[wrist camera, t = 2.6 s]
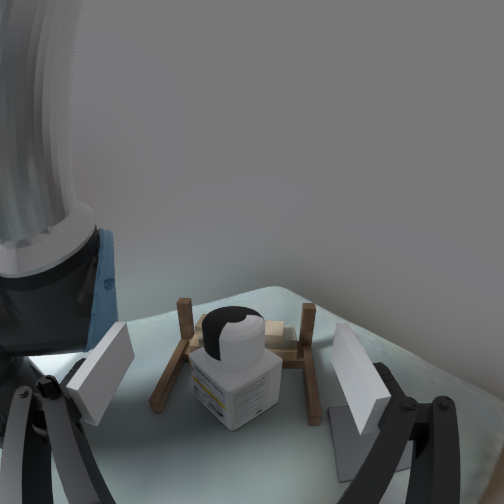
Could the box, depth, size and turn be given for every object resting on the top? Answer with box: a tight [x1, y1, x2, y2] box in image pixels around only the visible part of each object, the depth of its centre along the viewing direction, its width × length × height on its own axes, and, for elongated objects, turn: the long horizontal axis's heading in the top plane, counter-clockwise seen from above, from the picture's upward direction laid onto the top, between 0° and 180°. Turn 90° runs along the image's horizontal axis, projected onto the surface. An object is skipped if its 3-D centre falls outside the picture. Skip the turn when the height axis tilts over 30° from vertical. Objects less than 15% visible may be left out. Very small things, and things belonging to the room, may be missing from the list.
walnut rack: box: [149, 298, 322, 426], centre depth 34 cm, size 21×17×8 cm
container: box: [189, 306, 282, 431], centre depth 29 cm, size 8×8×13 cm
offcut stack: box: [189, 314, 297, 360], centre depth 39 cm, size 16×5×4 cm, turn 86°
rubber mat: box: [328, 406, 413, 483], centre depth 23 cm, size 11×11×1 cm
